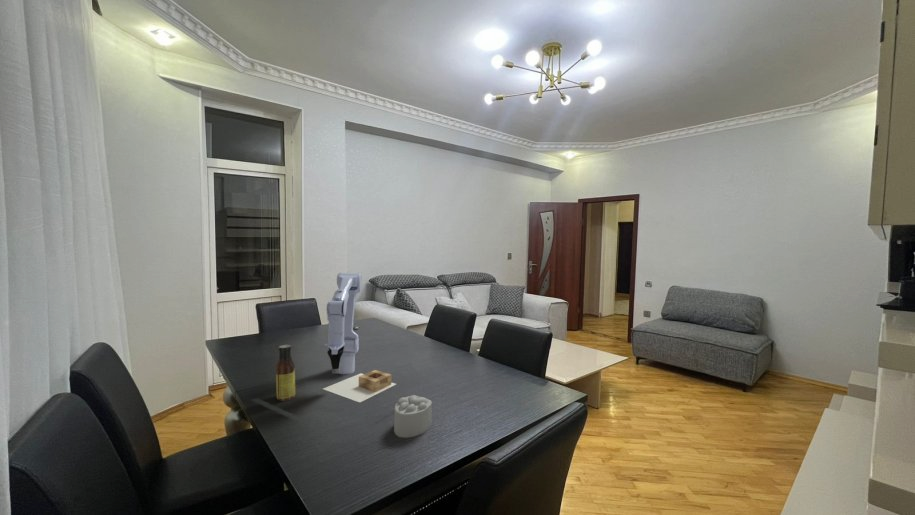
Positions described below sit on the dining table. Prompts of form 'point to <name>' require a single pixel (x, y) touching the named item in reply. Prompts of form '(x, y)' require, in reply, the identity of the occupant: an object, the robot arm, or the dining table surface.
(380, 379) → the square wooden ring
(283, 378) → the sauce bottle
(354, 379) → the board
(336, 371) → the metal peg
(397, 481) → the dining table surface
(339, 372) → the robot arm
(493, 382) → the dining table surface
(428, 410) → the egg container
